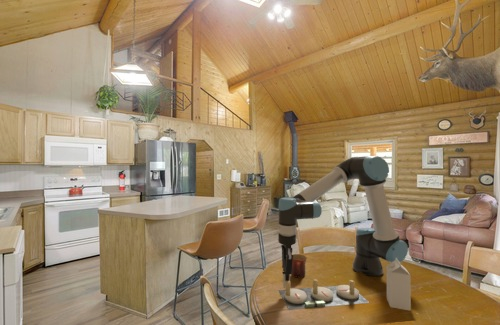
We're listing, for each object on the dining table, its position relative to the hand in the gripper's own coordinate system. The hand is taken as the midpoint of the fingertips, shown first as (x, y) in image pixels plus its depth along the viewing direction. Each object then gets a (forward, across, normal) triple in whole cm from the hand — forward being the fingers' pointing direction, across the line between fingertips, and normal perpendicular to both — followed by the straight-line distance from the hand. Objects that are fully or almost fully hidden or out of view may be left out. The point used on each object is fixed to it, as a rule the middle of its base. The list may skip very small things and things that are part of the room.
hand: (286, 287), depth 105 cm
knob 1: (+3, +2, +3) cm, 5 cm away
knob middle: (+3, +1, +15) cm, 16 cm away
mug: (+6, -18, +10) cm, 21 cm away
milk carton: (+5, +9, +45) cm, 46 cm away
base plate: (+5, +1, +15) cm, 16 cm away
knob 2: (+4, 0, +27) cm, 28 cm away
